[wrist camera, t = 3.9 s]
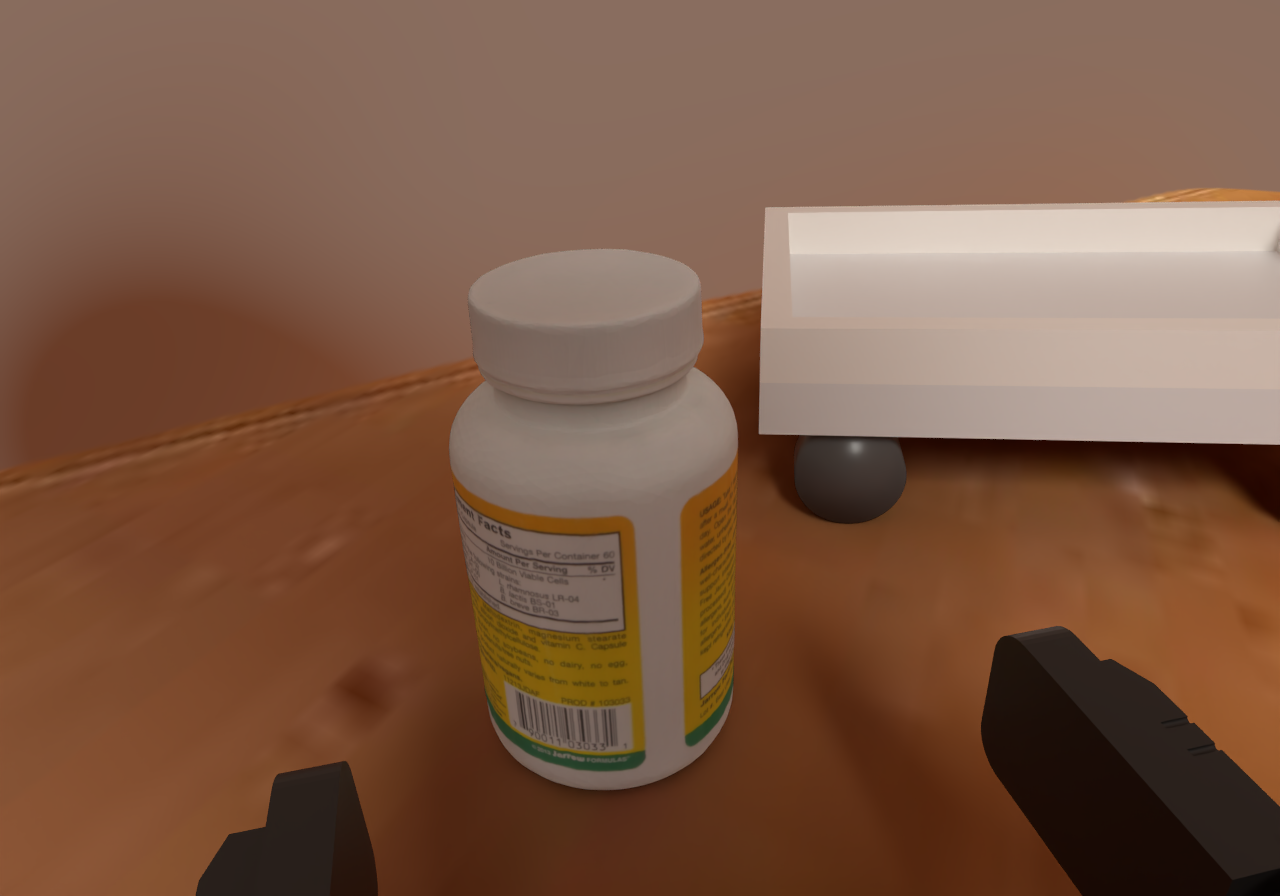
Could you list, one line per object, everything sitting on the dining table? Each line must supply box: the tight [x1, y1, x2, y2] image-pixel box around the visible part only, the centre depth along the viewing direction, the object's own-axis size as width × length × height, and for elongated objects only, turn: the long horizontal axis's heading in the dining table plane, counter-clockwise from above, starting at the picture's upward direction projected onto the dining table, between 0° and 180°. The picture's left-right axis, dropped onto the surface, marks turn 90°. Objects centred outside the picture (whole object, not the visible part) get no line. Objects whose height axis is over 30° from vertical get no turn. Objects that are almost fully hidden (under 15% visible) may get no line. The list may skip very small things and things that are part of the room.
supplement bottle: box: [449, 249, 738, 790], centre depth 18 cm, size 5×5×10 cm
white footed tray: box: [759, 201, 1280, 523], centre depth 28 cm, size 18×12×6 cm, turn 83°
